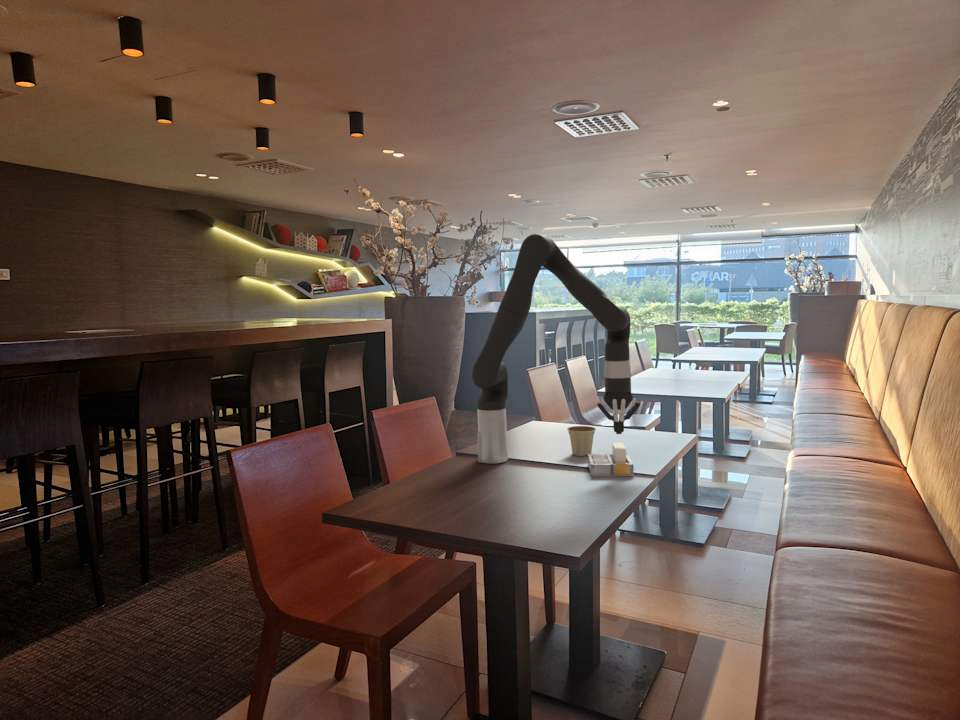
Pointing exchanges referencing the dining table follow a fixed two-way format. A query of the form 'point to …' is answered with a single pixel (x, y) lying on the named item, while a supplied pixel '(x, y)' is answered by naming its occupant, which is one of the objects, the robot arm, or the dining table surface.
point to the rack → (609, 466)
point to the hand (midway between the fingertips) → (618, 433)
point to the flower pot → (581, 439)
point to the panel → (618, 453)
